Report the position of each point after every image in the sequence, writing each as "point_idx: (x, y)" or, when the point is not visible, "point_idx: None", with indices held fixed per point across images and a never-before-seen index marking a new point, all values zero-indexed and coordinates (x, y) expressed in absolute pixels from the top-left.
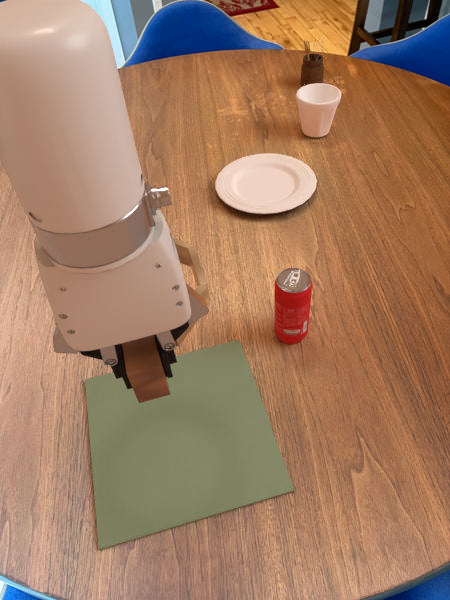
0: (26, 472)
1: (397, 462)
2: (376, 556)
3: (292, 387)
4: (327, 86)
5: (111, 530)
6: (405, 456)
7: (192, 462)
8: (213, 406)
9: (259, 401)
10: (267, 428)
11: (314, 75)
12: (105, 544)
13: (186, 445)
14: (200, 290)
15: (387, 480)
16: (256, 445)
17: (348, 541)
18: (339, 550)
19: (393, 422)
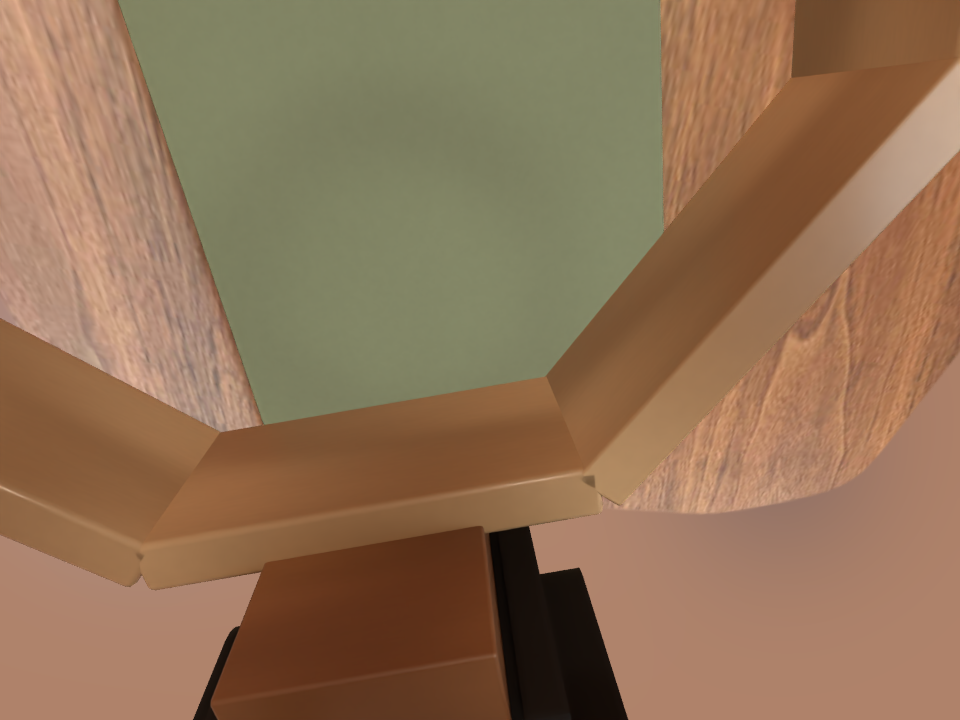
0: (30, 247)
1: (885, 329)
2: (757, 472)
3: (754, 97)
4: None
5: (285, 400)
6: (907, 319)
7: (459, 281)
8: (528, 130)
9: (655, 135)
10: (652, 218)
11: None
12: (277, 421)
13: (447, 236)
14: (933, 152)
15: (845, 360)
16: (615, 259)
17: (724, 449)
18: (703, 460)
19: (934, 240)
